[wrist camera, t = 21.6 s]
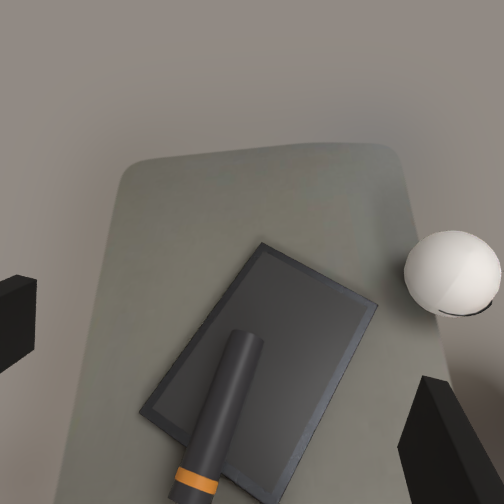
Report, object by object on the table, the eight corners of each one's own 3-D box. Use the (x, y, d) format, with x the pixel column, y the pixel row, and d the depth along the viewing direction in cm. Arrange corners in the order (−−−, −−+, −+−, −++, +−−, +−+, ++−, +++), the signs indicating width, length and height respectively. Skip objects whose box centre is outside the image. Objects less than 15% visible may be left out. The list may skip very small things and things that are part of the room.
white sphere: (397, 328, 35) (431, 294, 29) (388, 254, 39) (416, 210, 32) (513, 335, 35) (572, 302, 29) (492, 260, 39) (541, 217, 32)
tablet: (141, 414, 31) (138, 412, 30) (261, 246, 39) (261, 241, 38) (273, 510, 28) (274, 511, 27) (375, 308, 36) (378, 304, 35)
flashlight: (251, 345, 34) (195, 505, 28) (224, 330, 33) (160, 493, 27) (272, 343, 31) (216, 517, 26) (243, 327, 30) (178, 504, 25)
